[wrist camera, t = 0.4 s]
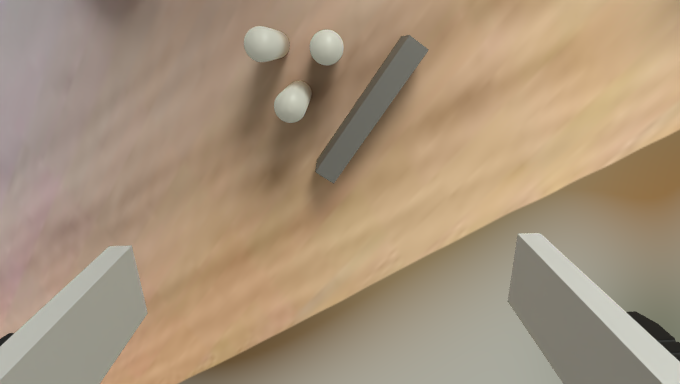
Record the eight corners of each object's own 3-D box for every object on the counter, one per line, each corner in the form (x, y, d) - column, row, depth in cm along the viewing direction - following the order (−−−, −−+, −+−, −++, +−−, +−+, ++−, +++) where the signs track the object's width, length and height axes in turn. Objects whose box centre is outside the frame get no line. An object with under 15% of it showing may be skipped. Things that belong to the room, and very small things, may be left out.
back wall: (333, 170, 40) (333, 183, 37) (316, 160, 40) (315, 172, 36) (418, 49, 37) (428, 49, 33) (401, 36, 36) (409, 35, 32)
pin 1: (284, 81, 37) (271, 91, 29) (310, 79, 37) (304, 88, 29) (287, 107, 38) (276, 124, 30) (312, 105, 38) (307, 121, 30)
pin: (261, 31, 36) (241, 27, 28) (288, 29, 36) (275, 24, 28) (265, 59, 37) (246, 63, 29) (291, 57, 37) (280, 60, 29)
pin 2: (313, 34, 36) (308, 31, 28) (339, 31, 36) (342, 27, 28) (316, 62, 37) (311, 66, 29) (341, 59, 37) (344, 63, 29)
